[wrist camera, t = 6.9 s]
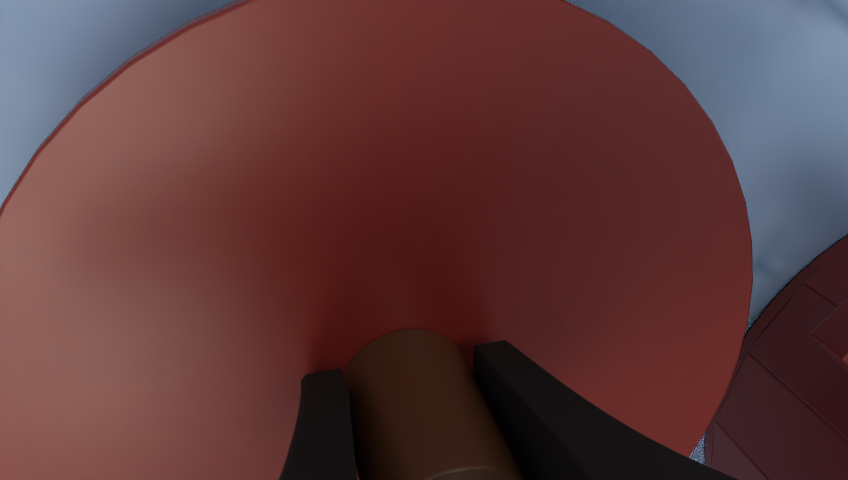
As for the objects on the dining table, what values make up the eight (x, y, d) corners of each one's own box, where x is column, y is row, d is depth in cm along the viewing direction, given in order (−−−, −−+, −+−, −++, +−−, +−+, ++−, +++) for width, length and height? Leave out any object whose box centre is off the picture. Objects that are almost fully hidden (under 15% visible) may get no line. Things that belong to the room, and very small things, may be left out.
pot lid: (414, 674, 19) (465, 892, 15) (-190, 447, 13) (-393, 723, 8) (835, 275, 16) (1038, 405, 12) (351, -268, 10) (437, -374, 6)
